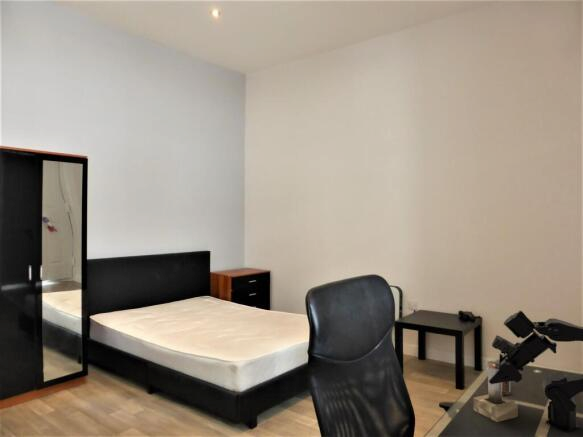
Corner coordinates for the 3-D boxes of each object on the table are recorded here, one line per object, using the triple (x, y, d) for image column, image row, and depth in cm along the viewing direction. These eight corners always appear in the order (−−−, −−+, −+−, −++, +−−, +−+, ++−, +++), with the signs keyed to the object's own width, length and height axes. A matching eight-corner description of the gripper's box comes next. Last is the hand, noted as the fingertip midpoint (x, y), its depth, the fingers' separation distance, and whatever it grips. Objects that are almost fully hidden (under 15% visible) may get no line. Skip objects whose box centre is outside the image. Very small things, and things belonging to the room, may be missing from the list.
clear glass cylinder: (506, 403, 132) (505, 364, 132) (496, 405, 130) (495, 366, 130) (494, 398, 136) (493, 360, 136) (484, 400, 134) (484, 362, 134)
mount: (517, 416, 131) (517, 403, 131) (497, 422, 127) (497, 408, 127) (493, 405, 139) (493, 393, 139) (473, 410, 135) (473, 397, 135)
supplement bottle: (492, 393, 148) (491, 362, 149) (492, 388, 154) (492, 357, 154) (511, 397, 146) (510, 364, 146) (511, 391, 151) (510, 359, 151)
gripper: (508, 322, 140) (472, 351, 145) (509, 335, 123) (468, 367, 128) (535, 349, 136) (498, 377, 141) (540, 366, 120) (497, 398, 124)
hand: (490, 379), depth 134 cm, fingers open, 6 cm apart
